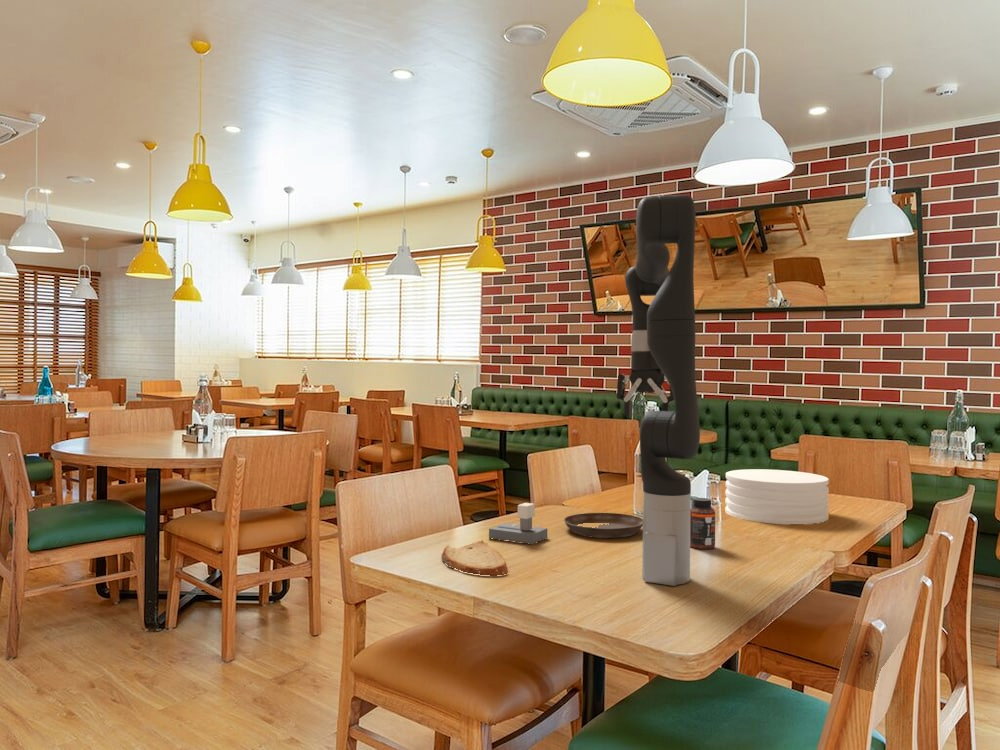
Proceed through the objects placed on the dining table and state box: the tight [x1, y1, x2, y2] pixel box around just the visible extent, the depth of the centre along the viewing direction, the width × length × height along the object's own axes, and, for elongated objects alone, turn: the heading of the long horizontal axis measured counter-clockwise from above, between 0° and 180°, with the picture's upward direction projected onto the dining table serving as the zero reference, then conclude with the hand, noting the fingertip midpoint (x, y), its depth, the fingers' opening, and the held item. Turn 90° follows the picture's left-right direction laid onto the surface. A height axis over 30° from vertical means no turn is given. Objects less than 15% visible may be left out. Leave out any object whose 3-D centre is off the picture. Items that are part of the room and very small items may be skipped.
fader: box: [517, 502, 536, 531], centre depth 171 cm, size 4×3×6 cm, turn 151°
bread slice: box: [441, 540, 509, 576], centre depth 151 cm, size 18×18×4 cm
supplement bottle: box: [690, 497, 716, 550], centre depth 166 cm, size 6×6×11 cm
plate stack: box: [724, 468, 830, 525], centre depth 206 cm, size 28×28×12 cm
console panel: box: [488, 522, 548, 545], centre depth 173 cm, size 8×12×3 cm, turn 61°
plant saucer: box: [563, 512, 643, 539], centre depth 183 cm, size 21×21×3 cm
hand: (646, 418), depth 168 cm, fingers open, 8 cm apart
